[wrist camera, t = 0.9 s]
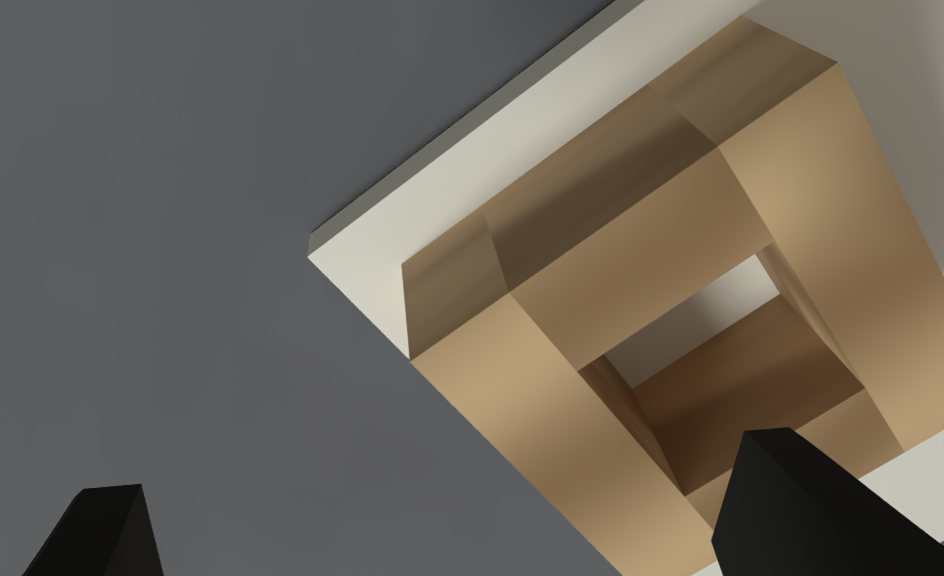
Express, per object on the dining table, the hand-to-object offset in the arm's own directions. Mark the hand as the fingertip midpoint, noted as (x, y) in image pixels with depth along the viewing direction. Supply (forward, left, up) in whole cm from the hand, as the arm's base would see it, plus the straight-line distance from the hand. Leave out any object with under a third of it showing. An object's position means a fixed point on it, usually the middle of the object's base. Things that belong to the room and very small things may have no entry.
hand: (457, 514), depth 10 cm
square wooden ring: (-5, -3, -9) cm, 11 cm away
